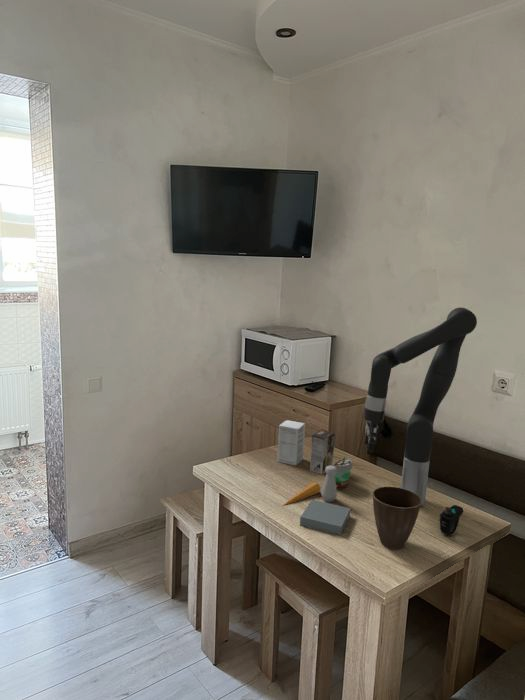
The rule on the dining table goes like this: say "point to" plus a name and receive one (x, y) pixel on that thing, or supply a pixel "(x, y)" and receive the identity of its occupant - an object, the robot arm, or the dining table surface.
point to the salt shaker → (329, 484)
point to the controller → (450, 519)
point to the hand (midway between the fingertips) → (368, 448)
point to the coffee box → (322, 451)
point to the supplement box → (291, 442)
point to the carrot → (305, 493)
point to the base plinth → (325, 517)
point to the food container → (342, 473)
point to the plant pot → (395, 515)
